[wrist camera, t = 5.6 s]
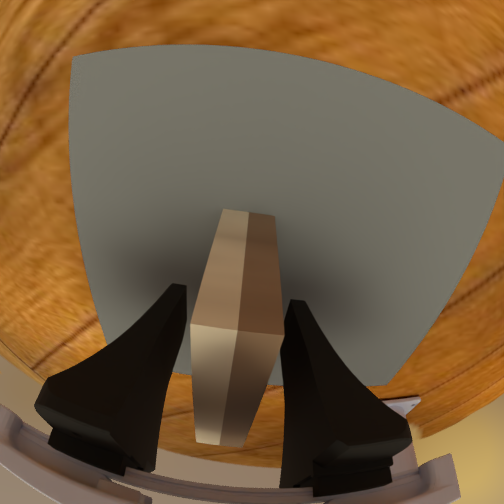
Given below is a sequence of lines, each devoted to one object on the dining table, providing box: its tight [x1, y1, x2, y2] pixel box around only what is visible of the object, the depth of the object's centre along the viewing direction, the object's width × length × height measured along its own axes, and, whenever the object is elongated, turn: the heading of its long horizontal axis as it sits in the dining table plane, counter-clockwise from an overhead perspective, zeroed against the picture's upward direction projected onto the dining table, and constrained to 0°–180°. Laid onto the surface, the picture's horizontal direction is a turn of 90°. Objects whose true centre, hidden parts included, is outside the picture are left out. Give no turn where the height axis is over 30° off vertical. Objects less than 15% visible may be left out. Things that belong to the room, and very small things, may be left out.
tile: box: [190, 209, 285, 447], centre depth 10 cm, size 8×2×6 cm, turn 172°
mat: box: [69, 45, 504, 386], centre depth 13 cm, size 18×20×1 cm
